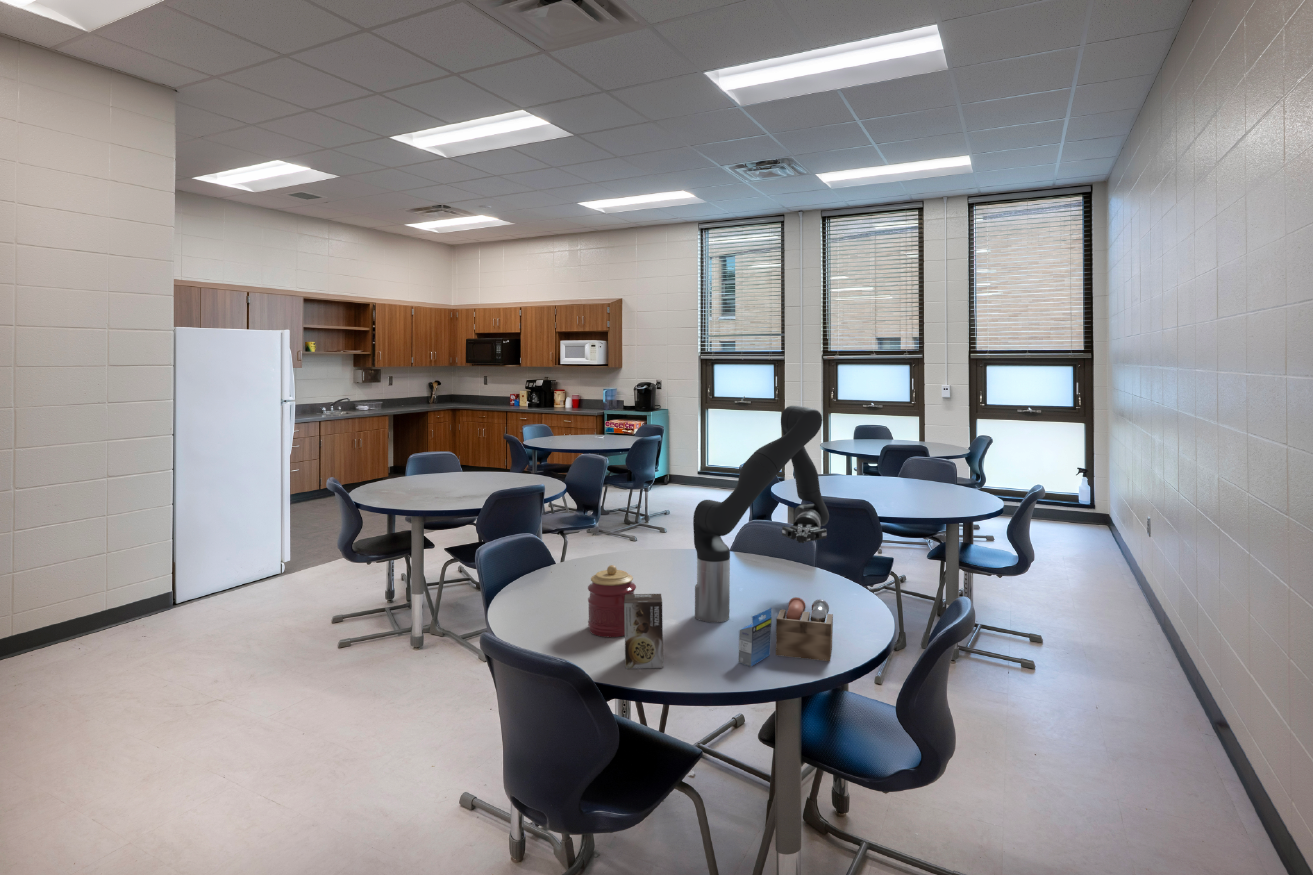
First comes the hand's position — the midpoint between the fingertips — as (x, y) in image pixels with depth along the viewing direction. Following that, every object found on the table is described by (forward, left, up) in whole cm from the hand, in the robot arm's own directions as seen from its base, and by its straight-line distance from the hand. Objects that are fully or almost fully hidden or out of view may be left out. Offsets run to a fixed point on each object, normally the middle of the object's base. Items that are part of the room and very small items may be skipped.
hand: (801, 539), depth 195 cm
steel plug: (+6, -13, -18) cm, 23 cm away
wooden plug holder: (+3, -19, -24) cm, 31 cm away
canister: (-48, -18, -24) cm, 57 cm away
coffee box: (-33, -37, -24) cm, 55 cm away
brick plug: (0, -13, -18) cm, 22 cm away
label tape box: (-8, -27, -24) cm, 37 cm away
